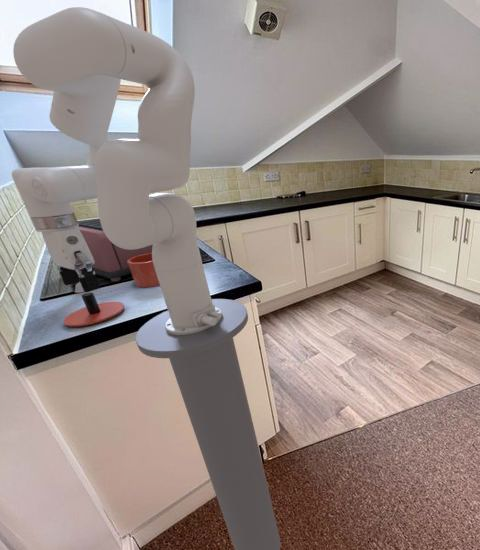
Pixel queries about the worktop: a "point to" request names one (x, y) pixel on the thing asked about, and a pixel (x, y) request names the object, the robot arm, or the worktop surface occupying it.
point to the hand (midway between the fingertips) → (82, 286)
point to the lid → (93, 311)
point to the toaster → (107, 251)
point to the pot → (143, 270)
